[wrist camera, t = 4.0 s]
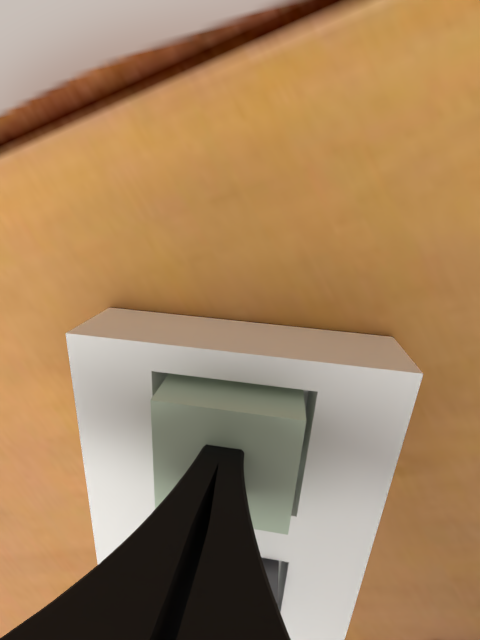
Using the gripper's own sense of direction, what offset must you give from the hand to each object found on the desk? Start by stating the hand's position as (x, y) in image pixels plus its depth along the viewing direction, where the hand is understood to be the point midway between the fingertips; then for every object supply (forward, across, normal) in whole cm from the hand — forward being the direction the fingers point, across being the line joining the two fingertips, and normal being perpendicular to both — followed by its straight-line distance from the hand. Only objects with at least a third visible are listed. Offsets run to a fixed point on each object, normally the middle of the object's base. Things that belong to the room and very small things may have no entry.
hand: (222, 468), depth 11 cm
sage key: (+3, 0, 0) cm, 3 cm away
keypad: (+4, 0, +8) cm, 9 cm away
